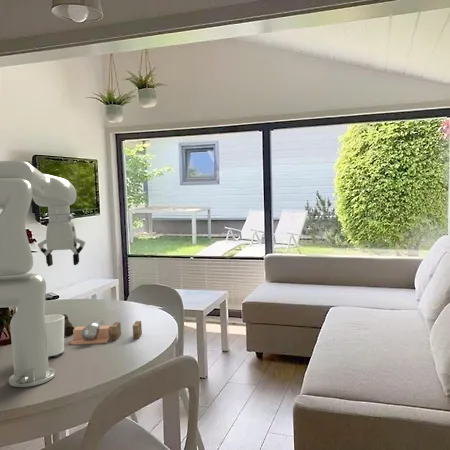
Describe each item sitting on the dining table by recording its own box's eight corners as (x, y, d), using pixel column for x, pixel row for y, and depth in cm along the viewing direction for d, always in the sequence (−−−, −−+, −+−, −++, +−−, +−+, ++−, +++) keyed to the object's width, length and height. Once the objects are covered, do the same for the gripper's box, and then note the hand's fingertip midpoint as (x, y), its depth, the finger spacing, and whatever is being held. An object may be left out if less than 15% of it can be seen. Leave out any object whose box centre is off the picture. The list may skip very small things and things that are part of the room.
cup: (37, 352, 159) (34, 316, 158) (66, 348, 162) (64, 312, 161) (36, 362, 150) (32, 324, 149) (67, 357, 153) (64, 320, 152)
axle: (95, 341, 166) (95, 327, 166) (81, 340, 166) (81, 327, 166) (104, 331, 178) (104, 318, 177) (91, 330, 178) (91, 317, 178)
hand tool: (74, 335, 177) (73, 323, 177) (63, 337, 176) (62, 325, 176) (71, 323, 195) (70, 312, 195) (61, 324, 193) (60, 313, 193)
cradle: (106, 343, 166) (105, 331, 165) (71, 344, 166) (70, 332, 165) (113, 334, 176) (112, 322, 175) (80, 335, 176) (79, 324, 175)
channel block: (138, 338, 169) (138, 325, 169) (111, 339, 169) (111, 326, 169) (141, 333, 175) (141, 320, 174) (116, 334, 175) (115, 321, 175)
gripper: (86, 217, 172) (89, 262, 173) (40, 219, 172) (44, 264, 174) (79, 218, 164) (83, 265, 166) (32, 220, 165) (35, 267, 166)
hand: (63, 265), depth 170 cm, fingers open, 9 cm apart
